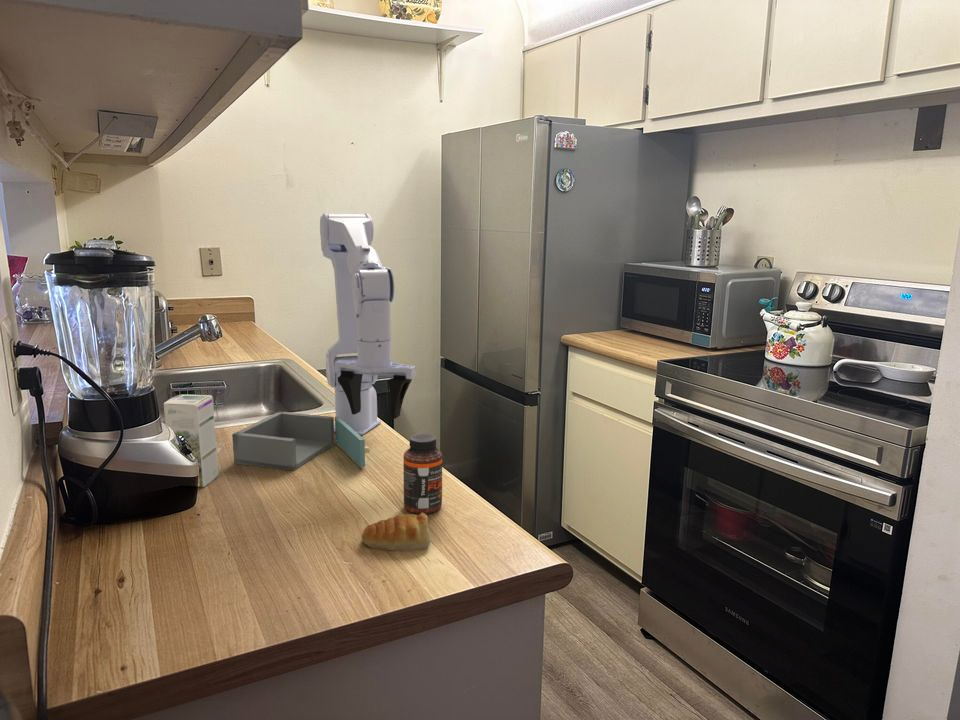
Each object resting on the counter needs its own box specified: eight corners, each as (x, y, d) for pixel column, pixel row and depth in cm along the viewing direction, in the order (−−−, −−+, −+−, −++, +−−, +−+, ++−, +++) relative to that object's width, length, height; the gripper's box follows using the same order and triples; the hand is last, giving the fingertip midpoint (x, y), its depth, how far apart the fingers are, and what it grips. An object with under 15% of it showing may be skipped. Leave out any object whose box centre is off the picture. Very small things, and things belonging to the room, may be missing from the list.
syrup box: (220, 475, 116) (214, 393, 113) (203, 489, 111) (196, 403, 107) (188, 473, 117) (181, 392, 114) (169, 487, 111) (162, 402, 108)
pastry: (362, 556, 90) (361, 530, 89) (361, 534, 96) (361, 508, 95) (433, 551, 91) (432, 524, 91) (427, 529, 98) (427, 504, 97)
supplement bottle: (433, 518, 101) (433, 446, 98) (397, 512, 103) (395, 441, 100) (448, 502, 106) (448, 433, 104) (413, 497, 108) (412, 429, 106)
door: (335, 442, 132) (334, 416, 131) (344, 440, 133) (343, 415, 132) (360, 467, 119) (360, 439, 118) (371, 466, 120) (370, 438, 119)
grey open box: (280, 437, 136) (279, 411, 135) (334, 443, 133) (333, 416, 131) (234, 463, 122) (232, 434, 121) (293, 471, 119) (291, 441, 117)
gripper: (324, 340, 115) (327, 417, 118) (403, 346, 111) (404, 425, 114) (344, 333, 122) (347, 406, 124) (419, 338, 118) (420, 414, 120)
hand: (375, 415), depth 120 cm, fingers open, 7 cm apart
